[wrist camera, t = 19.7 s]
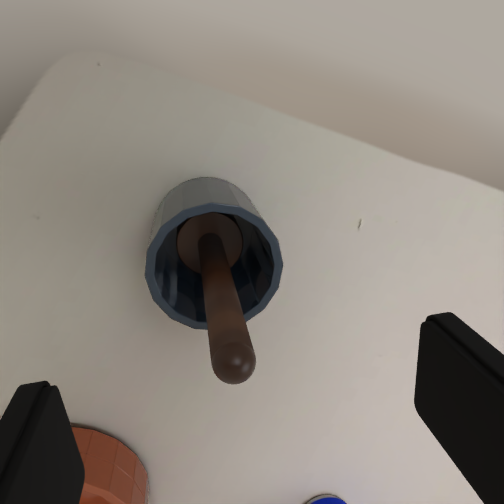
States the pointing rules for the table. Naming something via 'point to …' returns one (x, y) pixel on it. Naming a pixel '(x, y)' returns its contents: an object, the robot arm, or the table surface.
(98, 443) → the bowl
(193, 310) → the holder
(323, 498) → the beverage can
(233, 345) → the brown plunger
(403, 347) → the table surface
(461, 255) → the table surface
